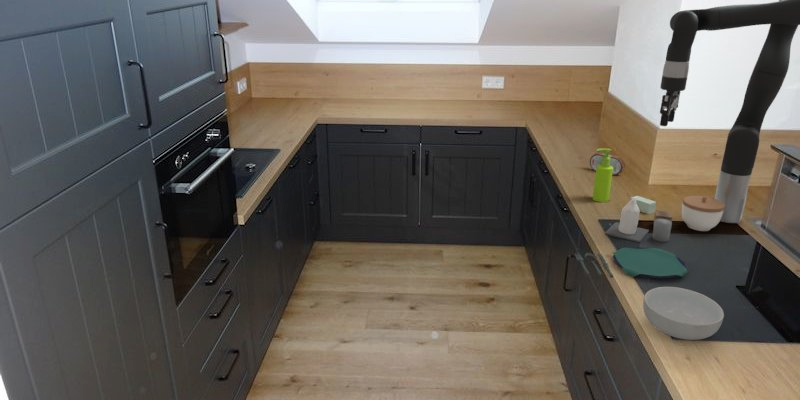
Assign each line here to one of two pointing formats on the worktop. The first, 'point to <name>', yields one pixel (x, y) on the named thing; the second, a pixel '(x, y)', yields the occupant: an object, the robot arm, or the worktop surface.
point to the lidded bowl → (702, 212)
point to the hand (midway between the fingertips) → (666, 123)
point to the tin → (615, 162)
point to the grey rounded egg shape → (662, 230)
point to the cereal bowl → (682, 312)
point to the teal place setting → (643, 263)
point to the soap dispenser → (603, 177)
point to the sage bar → (645, 204)
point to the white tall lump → (629, 217)
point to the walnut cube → (663, 215)
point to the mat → (635, 237)
